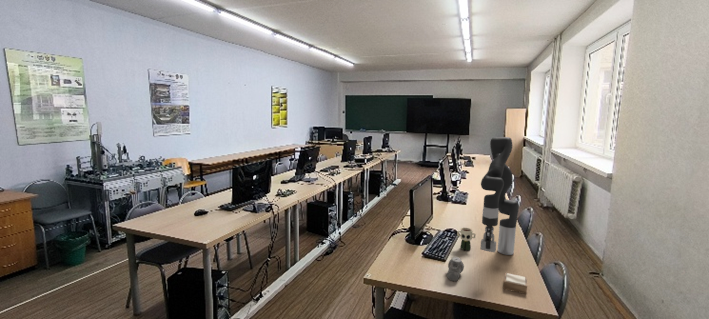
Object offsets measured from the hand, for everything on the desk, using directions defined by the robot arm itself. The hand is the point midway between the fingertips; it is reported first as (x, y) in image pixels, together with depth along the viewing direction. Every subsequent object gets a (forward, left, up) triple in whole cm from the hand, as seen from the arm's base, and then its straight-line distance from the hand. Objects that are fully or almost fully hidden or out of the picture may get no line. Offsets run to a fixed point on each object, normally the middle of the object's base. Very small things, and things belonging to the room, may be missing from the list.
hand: (488, 246), depth 171 cm
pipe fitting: (+7, -15, -17) cm, 24 cm away
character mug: (-33, -15, -17) cm, 40 cm away
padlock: (0, 0, -2) cm, 2 cm away
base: (+3, +14, -17) cm, 22 cm away
